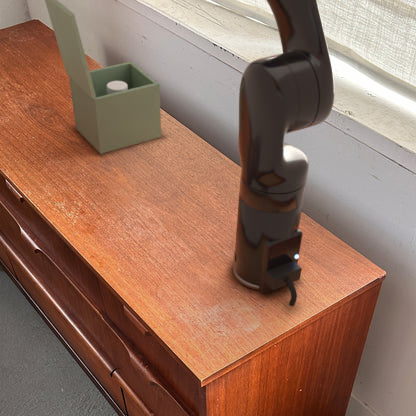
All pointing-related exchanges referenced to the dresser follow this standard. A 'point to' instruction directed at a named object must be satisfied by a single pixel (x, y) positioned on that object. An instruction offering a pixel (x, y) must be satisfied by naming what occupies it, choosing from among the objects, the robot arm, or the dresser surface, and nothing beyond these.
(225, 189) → the dresser surface
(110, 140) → the chest
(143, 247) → the dresser surface
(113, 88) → the pill bottle
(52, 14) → the lid
